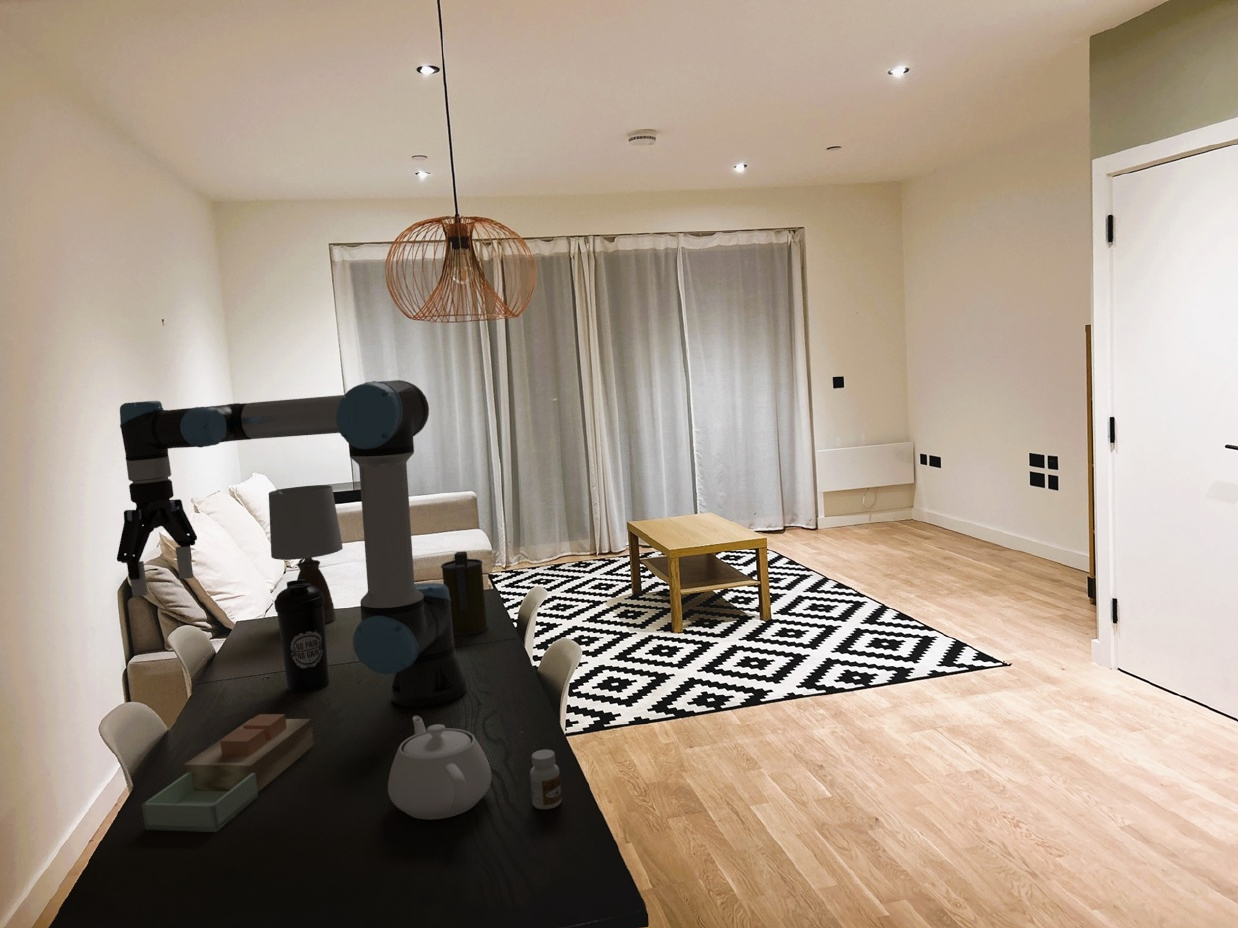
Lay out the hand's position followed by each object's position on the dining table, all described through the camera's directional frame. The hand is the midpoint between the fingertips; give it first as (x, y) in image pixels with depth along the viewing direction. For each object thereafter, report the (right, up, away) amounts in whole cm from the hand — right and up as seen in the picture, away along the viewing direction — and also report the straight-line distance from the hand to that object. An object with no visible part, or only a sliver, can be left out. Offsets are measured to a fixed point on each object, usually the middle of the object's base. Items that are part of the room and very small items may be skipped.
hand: (164, 586), depth 181 cm
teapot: (+63, -28, -40) cm, 79 cm away
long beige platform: (+27, -28, -23) cm, 46 cm away
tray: (+25, -30, -39) cm, 55 cm away
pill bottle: (+79, -27, -43) cm, 94 cm away
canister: (+51, -18, +53) cm, 76 cm away
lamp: (+6, -20, +72) cm, 75 cm away
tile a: (+28, -23, -21) cm, 42 cm away
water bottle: (+23, -24, +18) cm, 38 cm away
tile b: (+27, -24, -27) cm, 45 cm away
